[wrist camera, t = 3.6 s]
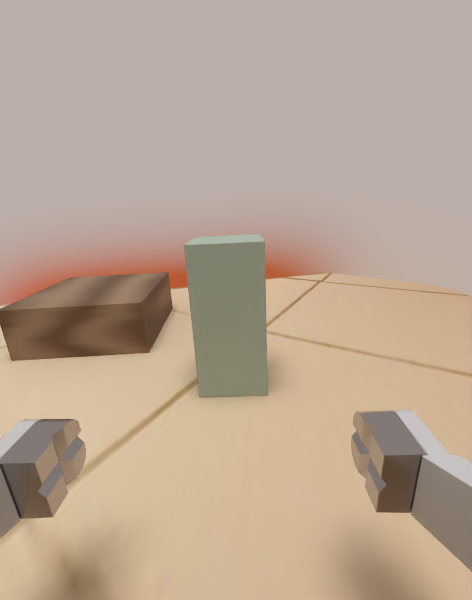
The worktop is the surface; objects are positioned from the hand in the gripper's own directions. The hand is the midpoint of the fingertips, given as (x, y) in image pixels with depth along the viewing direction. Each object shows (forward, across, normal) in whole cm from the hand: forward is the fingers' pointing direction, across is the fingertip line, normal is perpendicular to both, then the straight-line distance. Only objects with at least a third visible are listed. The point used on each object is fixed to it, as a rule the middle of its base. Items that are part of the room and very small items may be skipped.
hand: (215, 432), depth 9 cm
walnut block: (+22, +14, +6) cm, 26 cm away
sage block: (+12, 0, +6) cm, 13 cm away
